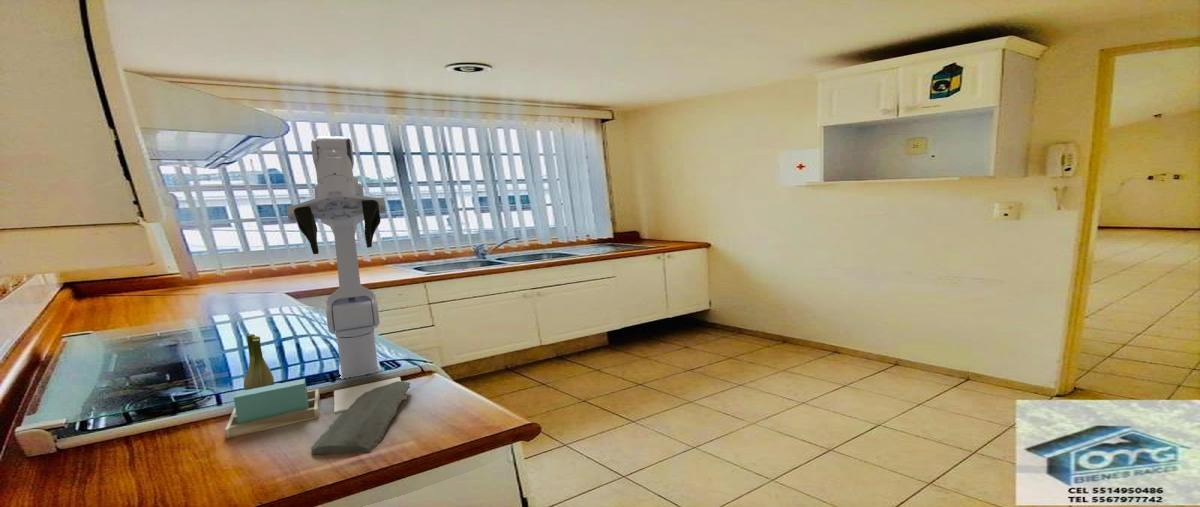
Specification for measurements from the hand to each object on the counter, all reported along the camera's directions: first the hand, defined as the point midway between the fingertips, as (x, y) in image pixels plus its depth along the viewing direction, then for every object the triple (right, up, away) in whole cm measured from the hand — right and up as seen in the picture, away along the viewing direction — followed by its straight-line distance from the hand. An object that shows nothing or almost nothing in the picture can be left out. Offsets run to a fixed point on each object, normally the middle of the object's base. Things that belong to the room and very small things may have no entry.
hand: (342, 246), depth 77 cm
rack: (-16, -30, +9) cm, 36 cm away
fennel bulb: (-27, -29, +20) cm, 44 cm away
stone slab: (+1, -30, +7) cm, 30 cm away
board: (-15, -30, +7) cm, 34 cm away
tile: (-3, -29, +16) cm, 33 cm away
